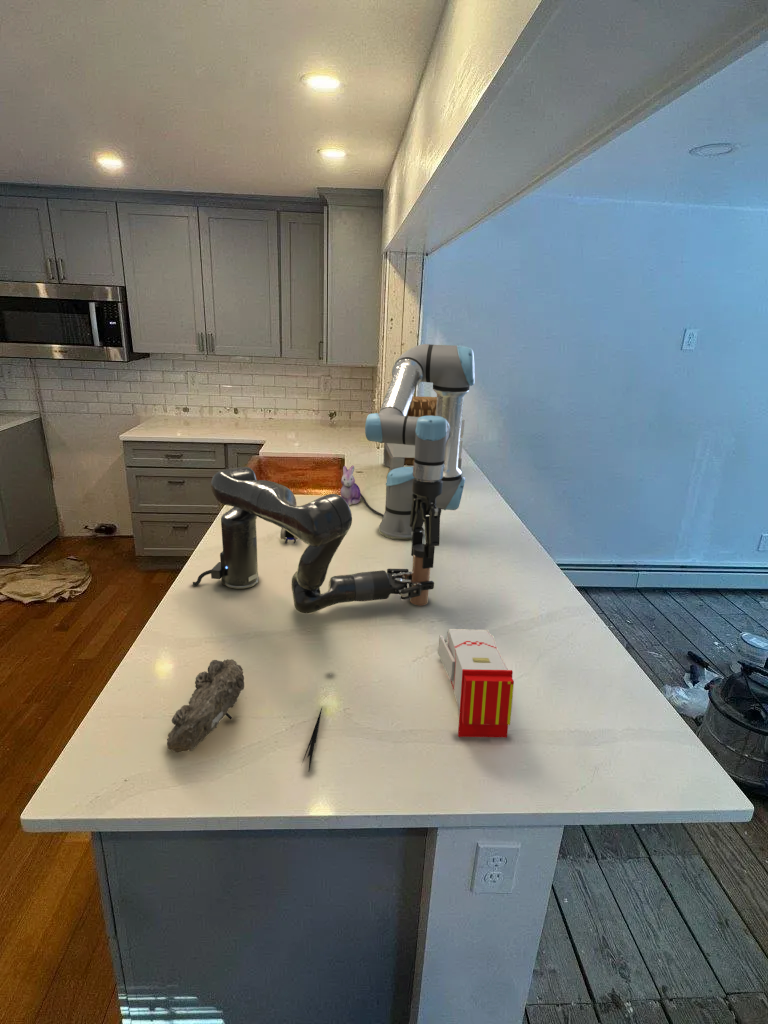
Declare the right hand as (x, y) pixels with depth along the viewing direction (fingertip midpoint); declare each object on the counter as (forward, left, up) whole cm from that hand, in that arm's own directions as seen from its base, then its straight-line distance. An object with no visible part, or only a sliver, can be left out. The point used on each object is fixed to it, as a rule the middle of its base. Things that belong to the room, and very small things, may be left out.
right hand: (421, 561), depth 150 cm
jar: (0, 0, -12) cm, 12 cm away
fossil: (+9, -64, -12) cm, 66 cm away
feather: (+22, -48, -12) cm, 54 cm away
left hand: (+1, +2, -6) cm, 6 cm away
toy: (+34, -19, -12) cm, 41 cm away
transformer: (-92, +89, -12) cm, 129 cm away
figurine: (-76, +35, -12) cm, 85 cm away
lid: (0, 0, +4) cm, 4 cm away
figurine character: (-57, -4, -12) cm, 59 cm away
